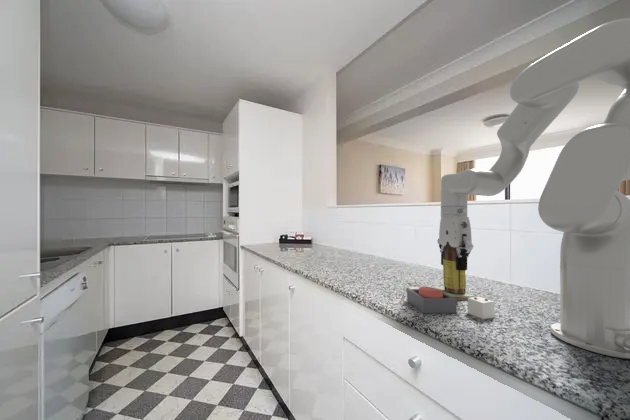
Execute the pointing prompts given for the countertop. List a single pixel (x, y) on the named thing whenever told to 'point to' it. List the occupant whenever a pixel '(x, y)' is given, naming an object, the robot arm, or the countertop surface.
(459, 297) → the board
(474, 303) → the die
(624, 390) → the countertop surface
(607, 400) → the countertop surface
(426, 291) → the dome button
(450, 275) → the sauce bottle
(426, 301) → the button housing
